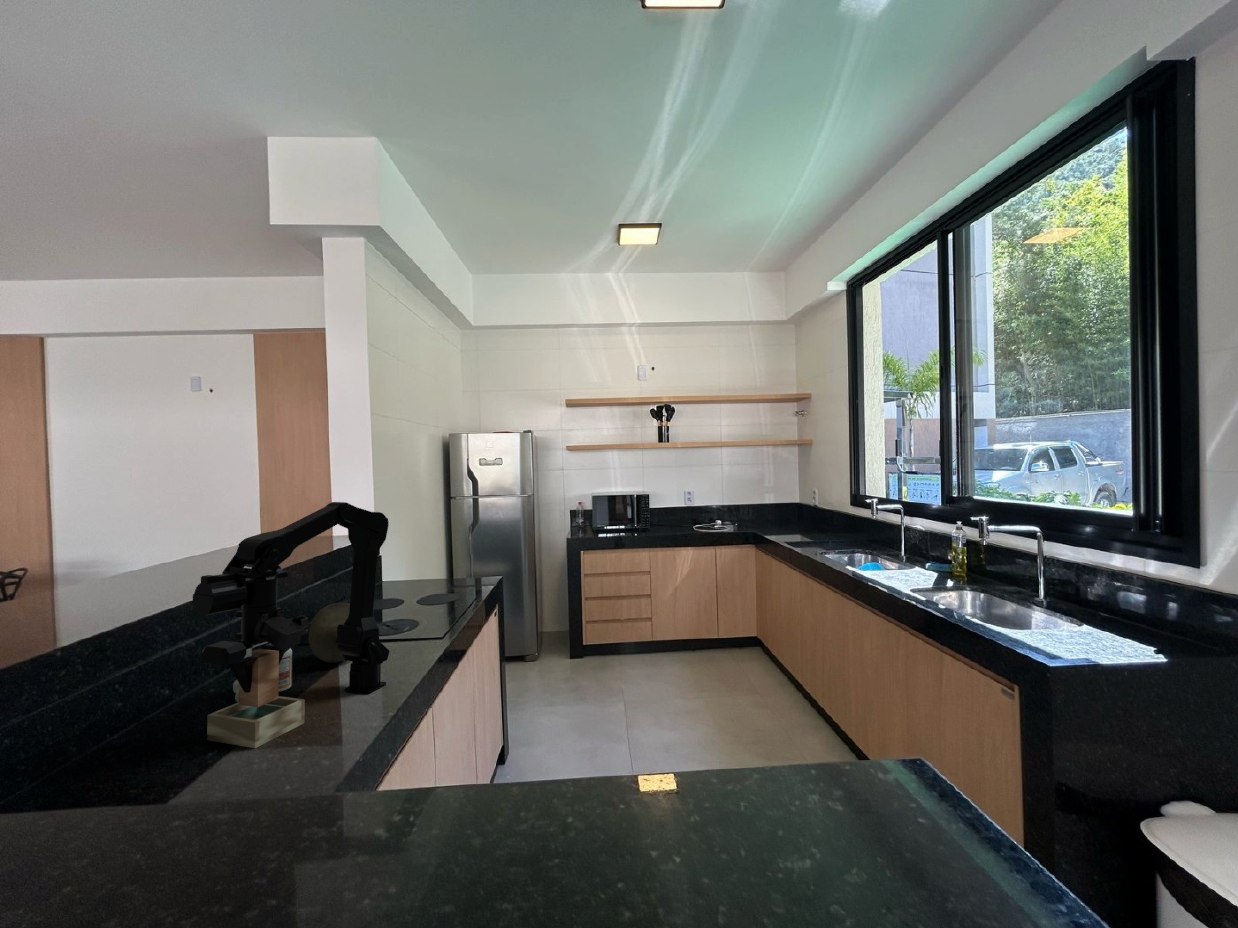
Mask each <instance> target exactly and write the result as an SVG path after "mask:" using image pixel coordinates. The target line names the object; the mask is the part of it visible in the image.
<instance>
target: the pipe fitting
mask: <svg viewBox="0 0 1238 928" xmlns="http://www.w3.org/2000/svg"><path fill="white" fill-rule="evenodd" d="M232 690H233V693H234V694H235V698H234V699H235V702H236V703H238V702H239V682H238V680H237V679H236V680H234V682H233V684H232Z"/></svg>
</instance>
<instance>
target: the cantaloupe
mask: <svg viewBox="0 0 1238 928" xmlns="http://www.w3.org/2000/svg"><path fill="white" fill-rule="evenodd" d="M349 610H350V602H334V603H330V604H328V605H326V606H325V607H323V608H321V609H319V610H318V612H316V613H315V614H314V617H313V618H312V620H311V623H310V624H309V638H308V643H309V644H308V645H309V646H310V649H311V651H312V653H313V655H314V656H315V657H316V658H317V659H319V660H321V661H322V662H325V663H328V664H337V663H342V662H343V661H345V660H344V658H343V655H342V653H341V652H340V651H339V650H338V643H335V642H336V639H337V627H338V625H339V624H344V623H345V621H346V620H347V618H348V617H349Z"/></svg>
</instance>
